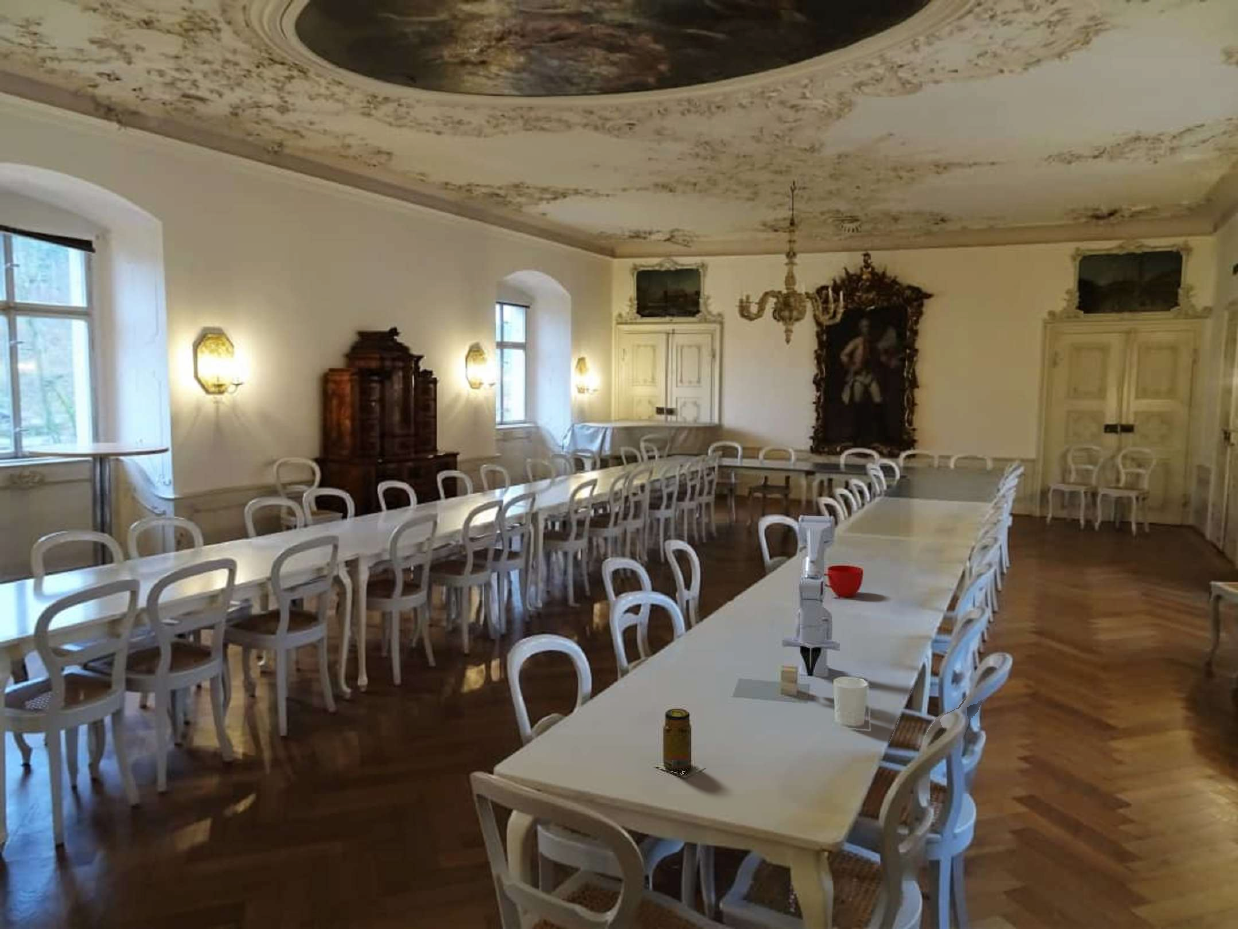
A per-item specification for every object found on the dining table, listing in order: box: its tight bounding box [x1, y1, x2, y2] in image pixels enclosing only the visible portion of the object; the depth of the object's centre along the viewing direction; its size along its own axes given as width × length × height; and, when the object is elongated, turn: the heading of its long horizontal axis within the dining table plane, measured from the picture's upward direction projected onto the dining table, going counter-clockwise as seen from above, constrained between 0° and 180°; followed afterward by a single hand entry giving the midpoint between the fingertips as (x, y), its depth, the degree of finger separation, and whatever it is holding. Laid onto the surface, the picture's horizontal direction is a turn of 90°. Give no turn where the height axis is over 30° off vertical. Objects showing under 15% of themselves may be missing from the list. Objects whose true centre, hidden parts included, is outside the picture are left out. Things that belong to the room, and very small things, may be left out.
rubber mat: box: [732, 677, 811, 704], centre depth 233 cm, size 14×19×1 cm
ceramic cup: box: [824, 564, 864, 598], centre depth 332 cm, size 13×17×10 cm
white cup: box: [833, 676, 869, 727], centre depth 212 cm, size 8×8×10 cm
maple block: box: [780, 664, 799, 695], centre depth 231 cm, size 4×4×6 cm
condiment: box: [653, 707, 707, 779], centre depth 188 cm, size 7×8×12 cm
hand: (810, 675), depth 230 cm, fingers closed
